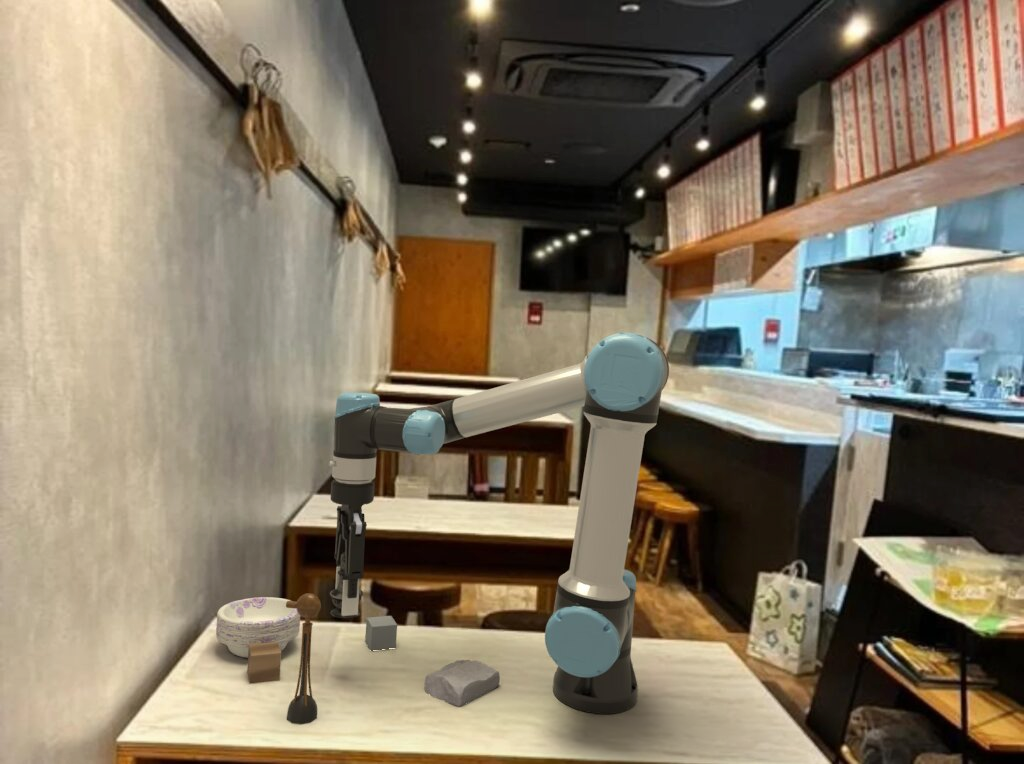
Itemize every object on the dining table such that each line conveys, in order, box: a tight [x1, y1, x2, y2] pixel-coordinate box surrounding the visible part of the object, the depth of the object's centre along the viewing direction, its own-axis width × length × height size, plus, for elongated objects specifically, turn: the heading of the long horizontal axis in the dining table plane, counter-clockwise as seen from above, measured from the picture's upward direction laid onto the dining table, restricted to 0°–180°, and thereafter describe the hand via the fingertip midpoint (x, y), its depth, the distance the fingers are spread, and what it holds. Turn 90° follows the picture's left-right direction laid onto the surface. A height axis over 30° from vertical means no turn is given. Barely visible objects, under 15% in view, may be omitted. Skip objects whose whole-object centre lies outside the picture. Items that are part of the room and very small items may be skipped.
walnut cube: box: [246, 642, 282, 684], centre depth 131 cm, size 5×5×5 cm
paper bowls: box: [215, 596, 301, 659], centre depth 142 cm, size 15×15×8 cm
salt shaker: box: [329, 552, 364, 619], centre depth 132 cm, size 6×6×12 cm
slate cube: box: [364, 615, 398, 652], centre depth 148 cm, size 5×5×5 cm
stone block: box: [423, 659, 501, 708], centre depth 132 cm, size 12×5×10 cm
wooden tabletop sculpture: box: [286, 593, 322, 725], centre depth 118 cm, size 6×5×20 cm
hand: (345, 607), depth 132 cm, fingers closed on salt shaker, 6 cm apart
